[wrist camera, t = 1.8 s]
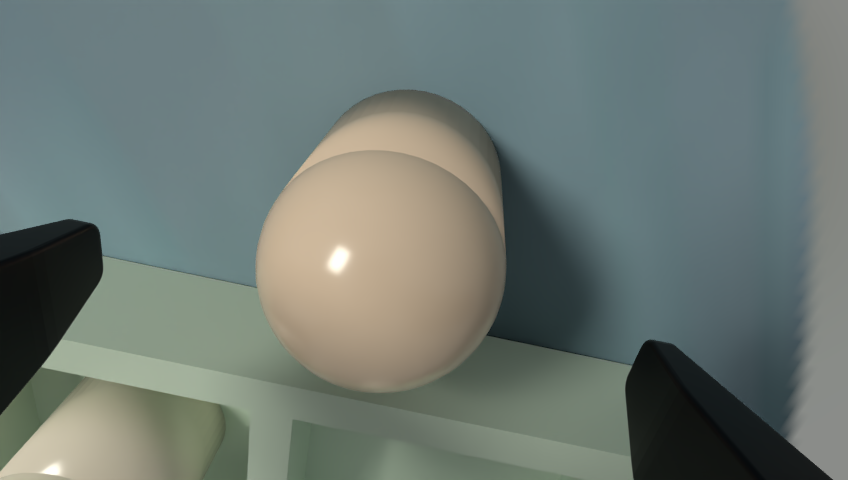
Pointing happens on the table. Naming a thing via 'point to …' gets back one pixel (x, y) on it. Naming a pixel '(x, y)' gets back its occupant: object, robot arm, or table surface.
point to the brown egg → (387, 246)
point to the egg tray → (331, 394)
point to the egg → (121, 437)
